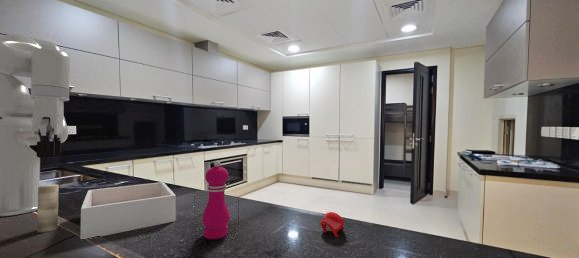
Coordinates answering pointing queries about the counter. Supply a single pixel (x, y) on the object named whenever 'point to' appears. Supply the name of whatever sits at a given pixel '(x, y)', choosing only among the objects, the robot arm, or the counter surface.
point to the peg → (47, 208)
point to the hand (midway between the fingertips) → (49, 155)
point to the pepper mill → (216, 203)
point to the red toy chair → (332, 222)
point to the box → (126, 209)
